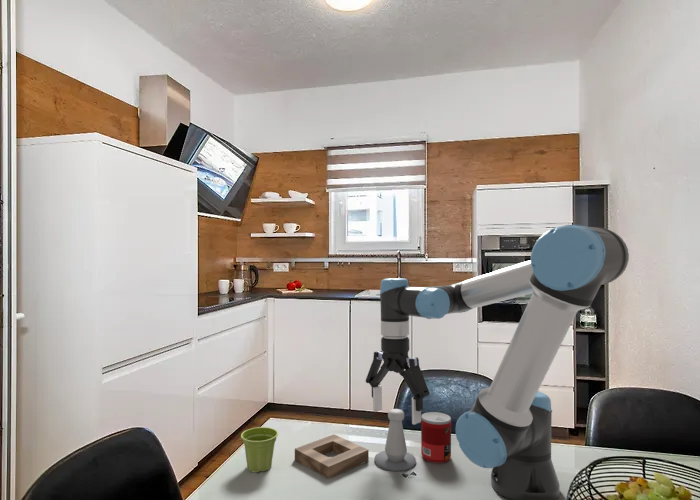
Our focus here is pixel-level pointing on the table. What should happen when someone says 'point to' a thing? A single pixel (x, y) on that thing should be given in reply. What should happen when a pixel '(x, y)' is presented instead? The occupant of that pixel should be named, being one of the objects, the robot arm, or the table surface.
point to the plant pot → (259, 447)
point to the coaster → (386, 464)
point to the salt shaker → (395, 437)
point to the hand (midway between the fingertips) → (396, 416)
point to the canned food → (436, 437)
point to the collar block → (330, 467)
